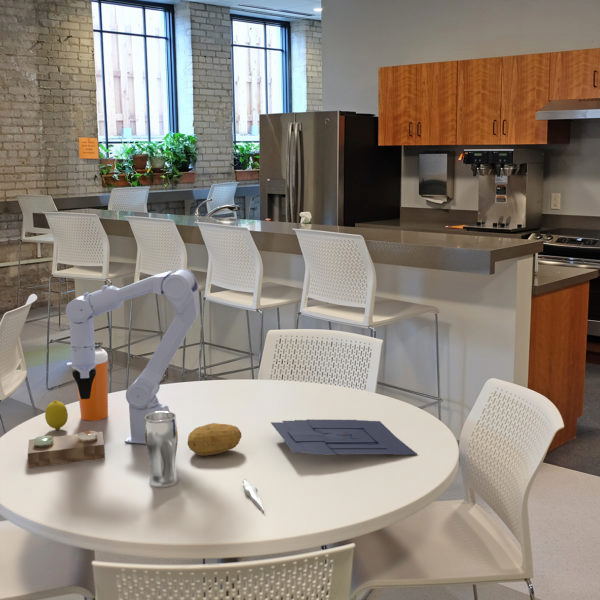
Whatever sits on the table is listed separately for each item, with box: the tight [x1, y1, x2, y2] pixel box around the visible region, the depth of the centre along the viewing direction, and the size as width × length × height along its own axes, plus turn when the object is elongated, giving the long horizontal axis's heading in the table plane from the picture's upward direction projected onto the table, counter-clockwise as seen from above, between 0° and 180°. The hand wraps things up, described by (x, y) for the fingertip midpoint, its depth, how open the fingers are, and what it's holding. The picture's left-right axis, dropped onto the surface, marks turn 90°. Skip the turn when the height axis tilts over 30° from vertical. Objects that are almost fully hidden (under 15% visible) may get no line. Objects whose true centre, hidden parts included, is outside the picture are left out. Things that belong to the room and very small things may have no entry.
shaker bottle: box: [76, 341, 109, 422], centre depth 217 cm, size 9×9×20 cm
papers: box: [270, 418, 418, 456], centre depth 196 cm, size 24×30×4 cm
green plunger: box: [33, 435, 54, 448], centre depth 190 cm, size 4×4×4 cm
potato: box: [187, 422, 242, 456], centre depth 192 cm, size 9×13×7 cm
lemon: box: [44, 399, 69, 431], centre depth 209 cm, size 6×6×8 cm
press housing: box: [27, 431, 106, 469], centre depth 191 cm, size 17×9×4 cm, turn 106°
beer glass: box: [145, 411, 179, 488], centre depth 175 cm, size 7×7×15 cm
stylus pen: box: [242, 478, 265, 512], centre depth 168 cm, size 15×3×2 cm, turn 19°
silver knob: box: [78, 430, 98, 443], centre depth 193 cm, size 4×4×4 cm
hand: (85, 398), depth 201 cm, fingers closed
